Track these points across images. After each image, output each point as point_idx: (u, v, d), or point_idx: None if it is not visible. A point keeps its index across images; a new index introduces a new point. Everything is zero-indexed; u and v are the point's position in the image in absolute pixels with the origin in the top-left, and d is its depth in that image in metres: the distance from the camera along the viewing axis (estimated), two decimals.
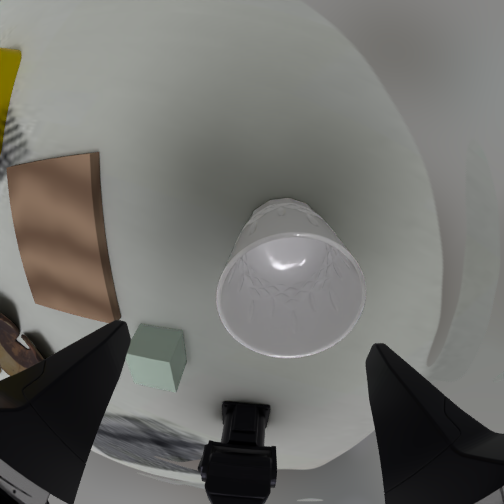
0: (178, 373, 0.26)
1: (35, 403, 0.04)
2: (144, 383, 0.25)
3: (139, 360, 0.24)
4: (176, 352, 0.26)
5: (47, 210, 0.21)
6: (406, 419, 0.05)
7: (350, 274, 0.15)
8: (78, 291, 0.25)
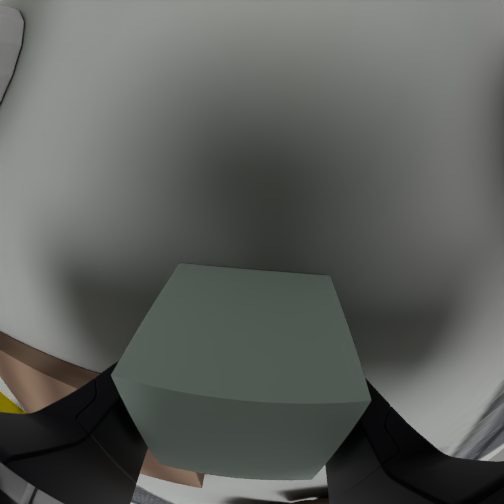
0: (296, 341, 0.06)
1: (93, 431, 0.04)
2: (309, 467, 0.06)
3: (166, 450, 0.06)
4: (173, 318, 0.06)
5: None
6: None
7: None
8: None
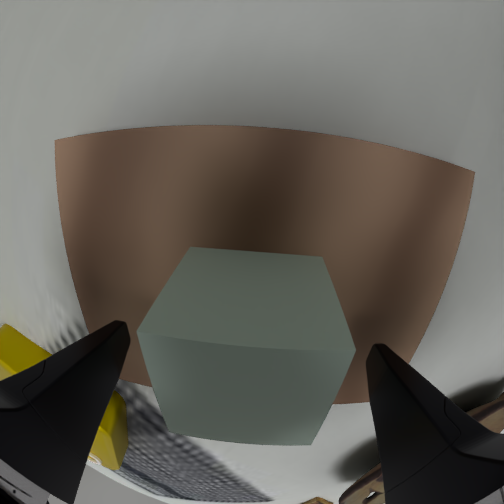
0: (291, 304, 0.07)
1: (35, 403, 0.04)
2: (307, 428, 0.07)
3: (177, 412, 0.07)
4: (188, 287, 0.08)
5: None
6: (406, 419, 0.05)
7: None
8: (389, 257, 0.10)
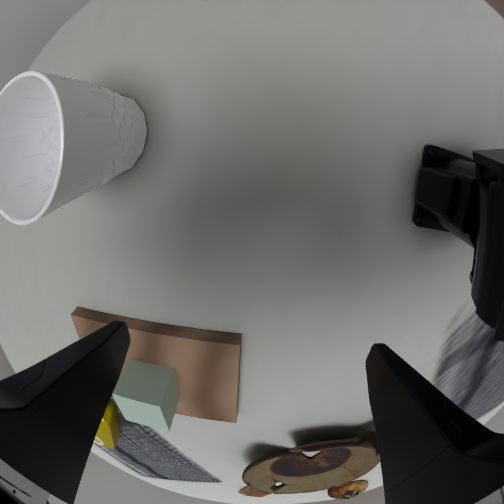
0: (151, 389, 0.22)
1: (35, 403, 0.04)
2: (163, 424, 0.22)
3: (126, 413, 0.22)
4: (125, 379, 0.22)
5: (123, 368, 0.26)
6: (406, 419, 0.05)
7: (29, 90, 0.09)
8: (201, 371, 0.24)
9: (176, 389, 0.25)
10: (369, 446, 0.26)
